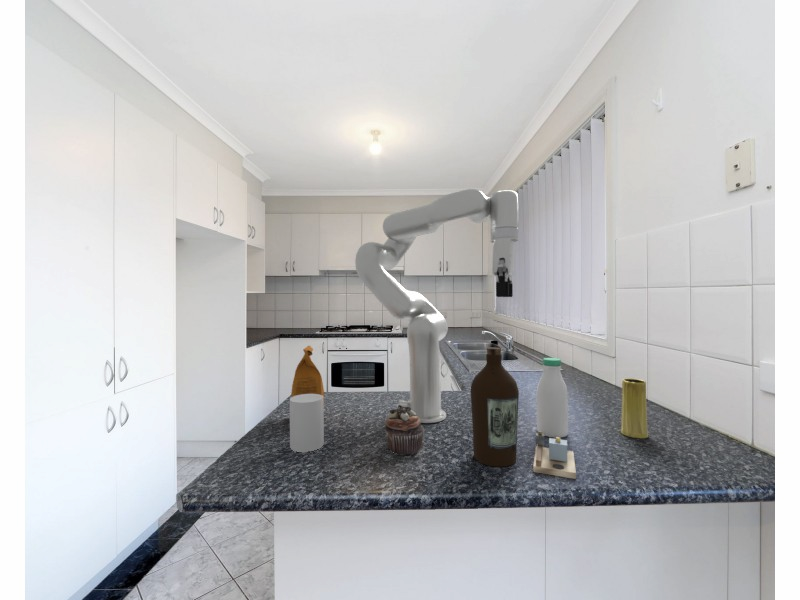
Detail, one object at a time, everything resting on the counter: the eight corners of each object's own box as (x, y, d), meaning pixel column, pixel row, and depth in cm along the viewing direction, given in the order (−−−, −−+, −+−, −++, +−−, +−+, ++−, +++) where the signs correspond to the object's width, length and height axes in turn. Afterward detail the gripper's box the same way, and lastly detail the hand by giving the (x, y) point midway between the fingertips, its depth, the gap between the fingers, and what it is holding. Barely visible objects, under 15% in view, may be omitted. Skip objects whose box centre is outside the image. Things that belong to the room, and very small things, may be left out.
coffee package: (325, 412, 116) (325, 344, 116) (323, 426, 104) (323, 349, 104) (293, 414, 114) (293, 345, 114) (288, 428, 102) (287, 350, 102)
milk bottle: (571, 439, 92) (570, 361, 92) (539, 437, 94) (539, 360, 94) (564, 428, 100) (563, 356, 100) (534, 427, 102) (534, 356, 102)
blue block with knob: (549, 459, 78) (548, 439, 78) (549, 453, 81) (549, 434, 81) (567, 461, 76) (567, 441, 76) (567, 456, 79) (566, 436, 79)
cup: (329, 442, 92) (329, 395, 92) (312, 455, 85) (311, 403, 84) (302, 438, 95) (302, 392, 95) (283, 450, 87) (282, 400, 87)
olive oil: (463, 450, 86) (462, 346, 86) (504, 446, 89) (503, 344, 89) (483, 471, 76) (482, 352, 76) (528, 465, 78) (528, 350, 78)
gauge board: (533, 471, 75) (533, 447, 75) (535, 451, 86) (535, 430, 86) (575, 478, 72) (575, 454, 72) (573, 456, 82) (573, 434, 82)
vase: (645, 432, 97) (645, 379, 97) (650, 440, 92) (650, 384, 91) (619, 429, 100) (619, 377, 100) (622, 436, 94) (622, 382, 94)
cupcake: (417, 459, 82) (417, 415, 82) (378, 453, 85) (378, 411, 85) (429, 443, 91) (429, 403, 91) (393, 438, 94) (393, 400, 94)
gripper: (495, 241, 111) (495, 297, 111) (485, 232, 95) (485, 297, 95) (520, 239, 108) (521, 296, 108) (515, 229, 92) (515, 296, 92)
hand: (504, 296), depth 102 cm, fingers open, 9 cm apart
